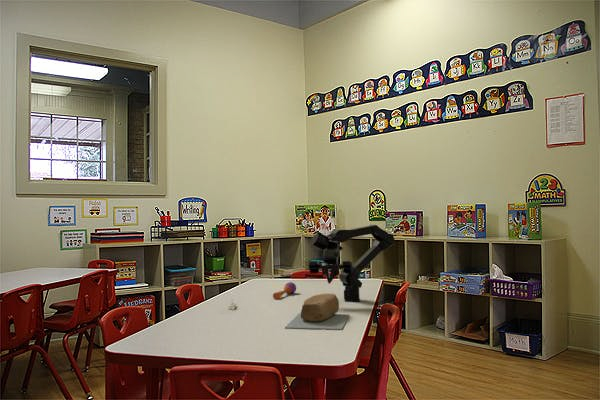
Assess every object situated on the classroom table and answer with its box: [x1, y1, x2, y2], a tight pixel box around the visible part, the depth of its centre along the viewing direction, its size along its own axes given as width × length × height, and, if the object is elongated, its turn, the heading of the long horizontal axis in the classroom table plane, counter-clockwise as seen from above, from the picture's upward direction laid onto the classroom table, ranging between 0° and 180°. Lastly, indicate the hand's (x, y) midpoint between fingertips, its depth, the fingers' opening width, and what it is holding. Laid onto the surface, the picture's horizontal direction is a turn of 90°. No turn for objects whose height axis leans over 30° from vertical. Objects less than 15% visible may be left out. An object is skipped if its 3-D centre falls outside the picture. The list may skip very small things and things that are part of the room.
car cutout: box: [226, 298, 238, 311], centre depth 207 cm, size 15×7×4 cm, turn 171°
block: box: [300, 293, 340, 322], centre depth 187 cm, size 11×8×20 cm
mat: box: [284, 312, 350, 331], centre depth 181 cm, size 20×24×1 cm
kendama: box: [272, 281, 297, 300], centre depth 241 cm, size 6×6×20 cm
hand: (329, 282), depth 208 cm, fingers closed
